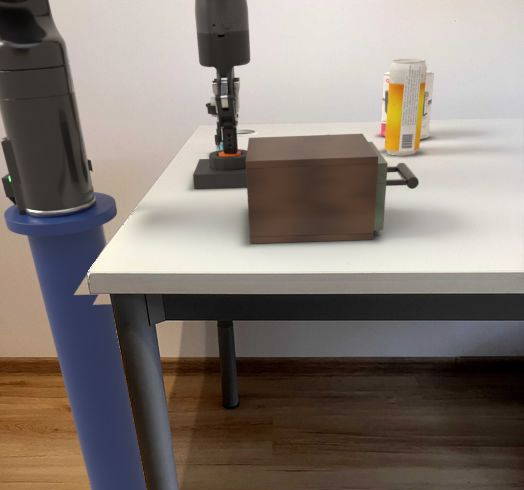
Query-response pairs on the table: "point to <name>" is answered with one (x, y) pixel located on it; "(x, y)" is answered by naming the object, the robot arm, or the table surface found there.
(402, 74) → the beer can
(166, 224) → the table surface
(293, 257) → the table surface
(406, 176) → the drawer
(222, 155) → the button
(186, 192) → the table surface
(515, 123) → the table surface
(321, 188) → the cabinet
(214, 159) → the control box
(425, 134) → the ink box
